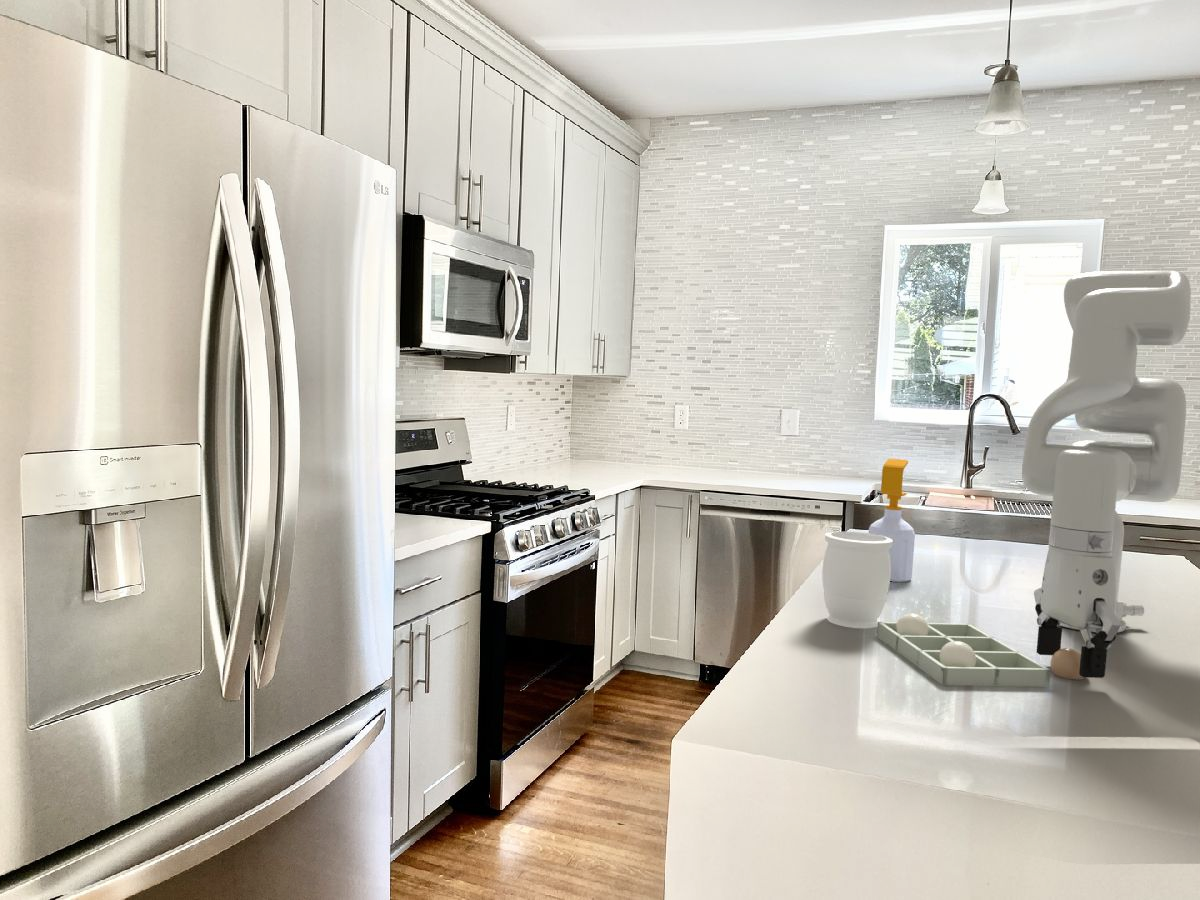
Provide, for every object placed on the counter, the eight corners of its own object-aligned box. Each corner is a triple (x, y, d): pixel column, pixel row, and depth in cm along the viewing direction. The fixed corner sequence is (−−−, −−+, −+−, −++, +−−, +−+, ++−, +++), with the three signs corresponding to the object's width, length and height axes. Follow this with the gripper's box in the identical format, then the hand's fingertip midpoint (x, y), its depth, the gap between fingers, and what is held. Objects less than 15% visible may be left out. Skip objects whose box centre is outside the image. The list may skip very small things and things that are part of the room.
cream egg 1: (919, 639, 136) (921, 609, 136) (933, 648, 131) (935, 618, 131) (890, 639, 136) (892, 609, 135) (902, 648, 131) (905, 617, 131)
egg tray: (967, 643, 138) (968, 623, 138) (1048, 693, 117) (1050, 669, 117) (876, 642, 137) (877, 621, 137) (941, 692, 116) (943, 668, 115)
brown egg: (1073, 676, 125) (1076, 644, 124) (1094, 687, 120) (1097, 654, 120) (1042, 675, 124) (1044, 643, 124) (1061, 687, 120) (1064, 653, 119)
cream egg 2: (964, 669, 122) (966, 636, 122) (981, 681, 117) (984, 647, 117) (931, 669, 122) (934, 636, 121) (947, 680, 117) (950, 646, 117)
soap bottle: (915, 577, 186) (924, 460, 184) (905, 584, 178) (913, 462, 176) (872, 570, 191) (880, 456, 189) (860, 577, 183) (868, 459, 181)
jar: (887, 623, 148) (893, 534, 147) (885, 640, 138) (892, 544, 137) (821, 615, 152) (827, 528, 150) (815, 631, 142) (822, 538, 141)
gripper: (1151, 554, 112) (1138, 687, 113) (1067, 531, 129) (1057, 647, 130) (1094, 552, 111) (1082, 686, 113) (1018, 529, 129) (1008, 646, 130)
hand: (1069, 665), depth 121 cm, fingers open, 9 cm apart
